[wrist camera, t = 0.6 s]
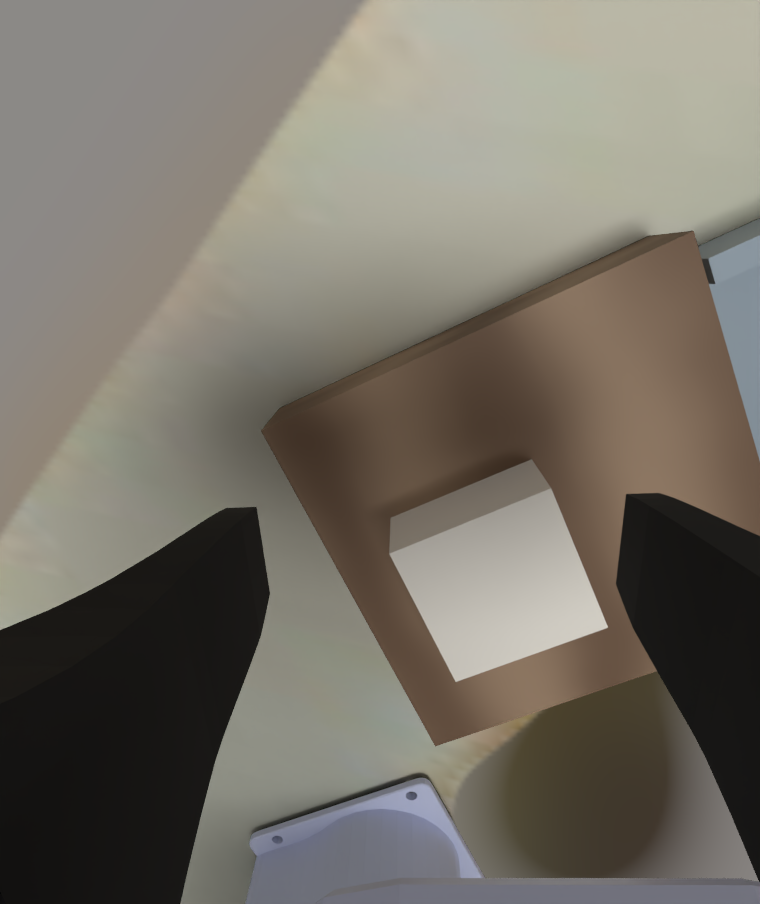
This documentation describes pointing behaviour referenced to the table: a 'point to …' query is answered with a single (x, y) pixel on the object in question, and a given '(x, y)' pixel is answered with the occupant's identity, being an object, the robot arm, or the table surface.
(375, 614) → the walnut plate
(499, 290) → the table surface
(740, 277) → the tray
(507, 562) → the block
